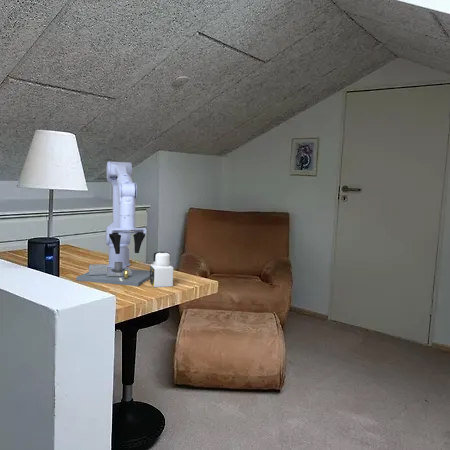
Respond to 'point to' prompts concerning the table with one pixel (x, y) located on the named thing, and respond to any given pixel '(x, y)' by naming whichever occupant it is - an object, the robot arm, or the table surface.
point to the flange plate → (106, 270)
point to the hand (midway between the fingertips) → (127, 253)
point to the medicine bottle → (161, 270)
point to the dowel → (126, 274)
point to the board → (118, 277)
